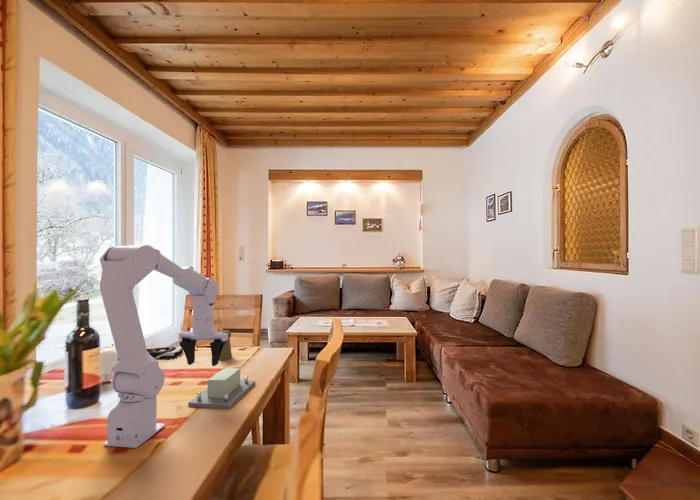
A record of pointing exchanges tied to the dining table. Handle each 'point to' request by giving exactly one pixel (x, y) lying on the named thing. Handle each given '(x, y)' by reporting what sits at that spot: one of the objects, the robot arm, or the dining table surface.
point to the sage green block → (223, 382)
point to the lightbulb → (107, 363)
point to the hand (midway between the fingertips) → (203, 364)
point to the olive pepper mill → (226, 348)
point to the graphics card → (164, 352)
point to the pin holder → (225, 402)
